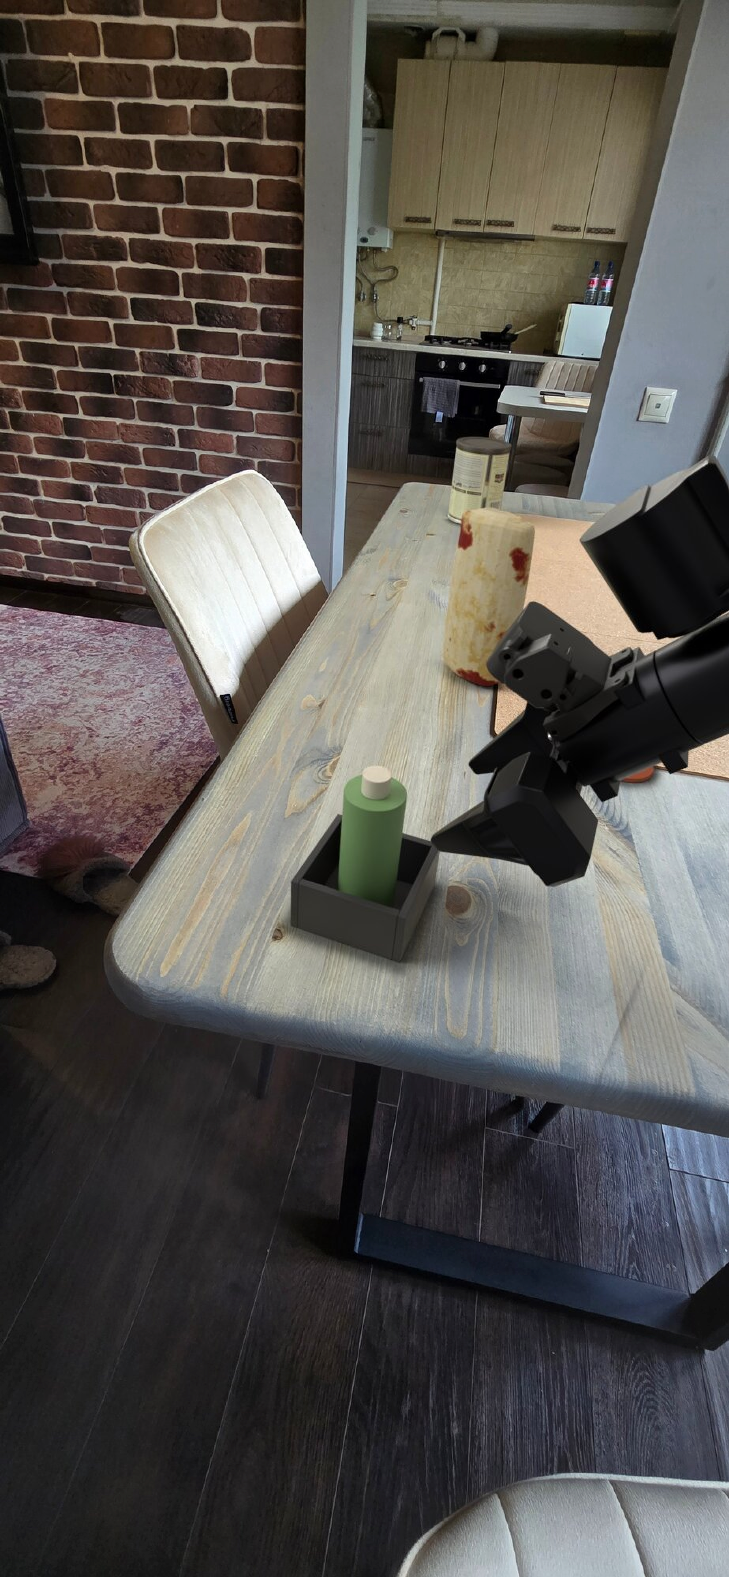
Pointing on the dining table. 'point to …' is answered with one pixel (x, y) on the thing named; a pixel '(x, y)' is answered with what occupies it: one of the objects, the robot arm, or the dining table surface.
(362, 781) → the soap bottle
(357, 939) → the dark grey open box
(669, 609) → the robot arm
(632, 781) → the mat
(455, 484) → the coffee can
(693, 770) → the dining table surface
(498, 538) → the food model
